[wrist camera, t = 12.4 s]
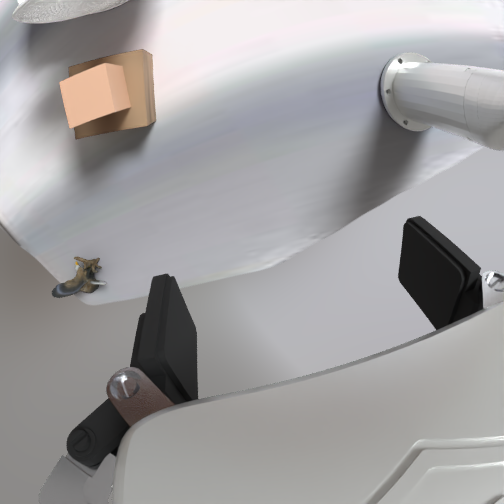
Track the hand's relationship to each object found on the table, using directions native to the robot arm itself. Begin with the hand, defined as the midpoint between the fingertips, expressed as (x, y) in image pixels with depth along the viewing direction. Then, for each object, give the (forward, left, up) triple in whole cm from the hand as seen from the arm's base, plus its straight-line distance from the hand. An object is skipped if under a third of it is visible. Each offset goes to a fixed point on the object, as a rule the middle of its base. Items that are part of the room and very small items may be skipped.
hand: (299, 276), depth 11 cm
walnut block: (+13, -10, -31) cm, 35 cm away
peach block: (+13, -10, -24) cm, 30 cm away
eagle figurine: (+28, +14, -31) cm, 44 cm away
